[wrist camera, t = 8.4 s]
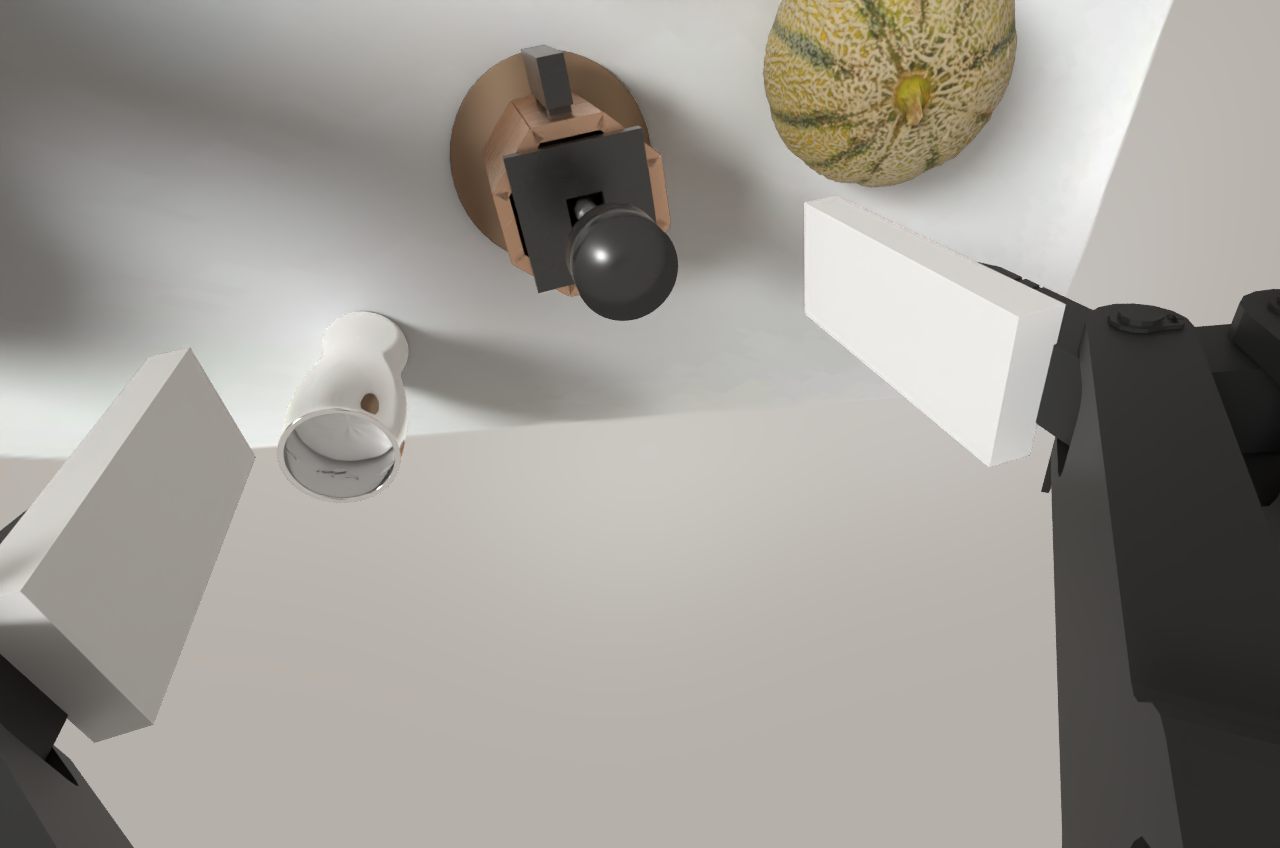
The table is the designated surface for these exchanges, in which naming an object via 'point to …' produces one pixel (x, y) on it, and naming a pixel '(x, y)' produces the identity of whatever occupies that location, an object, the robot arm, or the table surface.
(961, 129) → the cantaloupe
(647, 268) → the plunger
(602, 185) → the carafe
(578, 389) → the table surface
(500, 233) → the coaster
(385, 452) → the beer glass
